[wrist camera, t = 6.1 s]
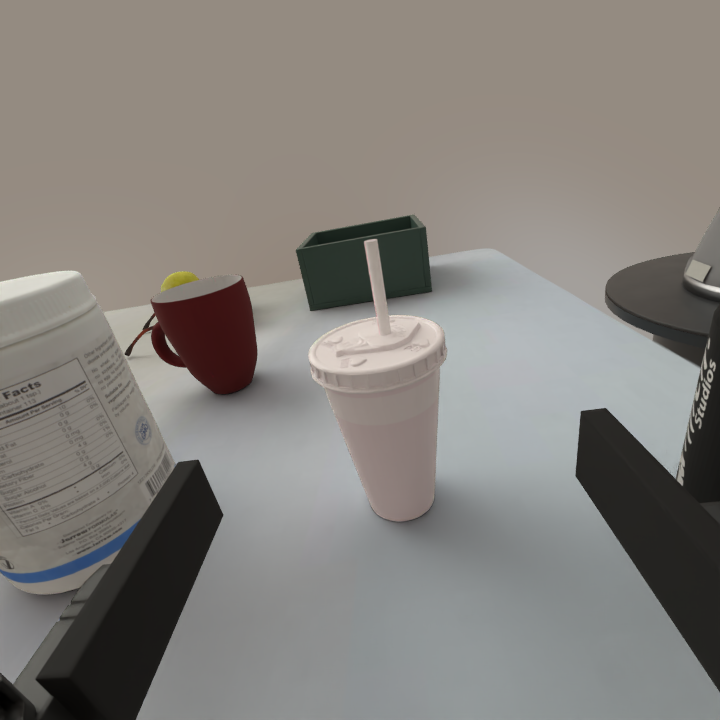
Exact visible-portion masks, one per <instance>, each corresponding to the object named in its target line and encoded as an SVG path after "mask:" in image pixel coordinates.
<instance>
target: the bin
mask: <svg viewBox="0 0 720 720" xmlns="http://www.w3.org/2000/svg"><path fill="white" fill-rule="evenodd" d="M371 239H377V242H378V248H379V255H380V262H381V268H382V275H383V282H384V288H385V295H386V299H387V298H393V297H400V296H406V295H412V294H418V293H424V292H431V291H432V286H431V276H430V266H429V256H428V245H427V235H426V227H425V226H424V225H423V224H422V223H421V221H419V219H418V218H417V217H416V216H415V215H410V216H403V217H398V218H392V219H387V220H381V221H376V222H370V223H365V224H359V225H354V226H348V227H343V228H337V229H332V230H326V231H321V232H315V233H312V234H311V235H310V236H309V237H308V238H307V239H306V240H305V241H304V242H303V243H302V244H301V245H300V246H299V247H298V248H297V249H296V253H297V257H298V261H299V265H300V269H301V274H302V278H303V282H304V286H305V290H306V294H307V299H308V303H309V307H310V311H312V310H318V309H325V308H331V307H337V306H343V305H350V304H356V303H362V302H368V301H374V299H373V293H372V287H371V281H370V275H369V269H368V263H367V257H366V251H365V245H364V241H367V240H371Z"/></svg>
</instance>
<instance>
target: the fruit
mask: <svg viewBox="0 0 720 720" xmlns="http://www.w3.org/2000/svg"><path fill="white" fill-rule="evenodd" d="M196 280H199V279H198V278H197V277H196V276H195V275H194V274H193V273H190V272H176V273H173V274H171V275H170V276H168V277H167V278H166V279H165V281H164V283H163V284H162V286H161V292H163V291H165V290H168V289H171V288H173V287H176V286H179V285H182V284H185V283H189V282H193V281H196Z"/></svg>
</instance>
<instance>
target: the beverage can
mask: <svg viewBox="0 0 720 720" xmlns="http://www.w3.org/2000/svg"><path fill="white" fill-rule="evenodd" d="M676 480H677V481H678V482H679V483H680V484H681V485H682V486H683V487H684V488H685V489H686V490H687V491H688V492H689V493H690V494H691V495H692V496H693V497H694V498H695V499H696V500H697V501H698V502H699V503H707V502H717V501H720V304H719V305H718V307H717V308H716V310H715V311H714V314H713V318H712V323H711V327H710V331H709V336H708V340H707V344H706V349H705V353H704V357H703V362H702V366H701V371H700V375H699V379H698V384H697V388H696V392H695V397H694V401H693V406H692V410H691V414H690V419H689V423H688V427H687V432H686V436H685V441H684V445H683V449H682V454H681V458H680V462H679V467H678V471H677V475H676Z"/></svg>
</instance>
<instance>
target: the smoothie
mask: <svg viewBox="0 0 720 720" xmlns="http://www.w3.org/2000/svg"><path fill="white" fill-rule="evenodd" d="M364 245H365V251H366V257H367V263H368V269H369V275H370V281H371V287H372V293H373V299H374V305H375V311H376V317H372V318H367V319H362V320H358V321H354V322H351V323H348V324H345V325H342V326H340V327H338V328H335V329H333V330H331V331H329V332H328V333H326V334H324V335H323V336H321V337H320V338H319V339H317V341H316V342H315V343H314V344H313V345H312V346H311V348H310V350H309V353H308V357H309V361H310V365H311V374H312V377H313V379H314V380H315V381H316V382H317V383H318V384H319V385H320V386H322V387H324V389H325V392H326V394H327V397H328V400H329V402H330V405H331V408H332V410H333V412H334V415H335V417H336V420H337V422H338V425H339V427H340V430H341V432H342V435H343V437H344V440H345V442H346V445H347V447H348V450H349V452H350V455H351V457H352V460H353V462H354V465H355V467H356V470H357V472H358V475H359V477H360V480H361V482H362V485H363V487H364V490H365V492H366V495H367V497H368V500H369V502H370V505H371V507H372V509H373V510H374V512H375V513H376V514H378V515H379V516H380V517H382V518H384V519H387V520H390V521H409V520H412V519H415V518H418V517H420V516H421V515H423V514H424V513H425V512H427V511H428V510H429V508H430V507H431V505H432V504H433V501H434V496H435V473H436V449H437V425H438V402H439V380H440V366H441V365H442V364H443V362H444V361H445V360H446V355H447V348H446V346H445V336H444V331H443V329H442V328H441V327H440V326H439V325H438V324H436V323H435V322H433V321H431V320H428V319H426V318H421V317H417V316H408V315H388V308H387V302H386V295H385V288H384V282H383V275H382V268H381V262H380V255H379V248H378V242H377V239H371V240H367V241H364Z"/></svg>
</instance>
